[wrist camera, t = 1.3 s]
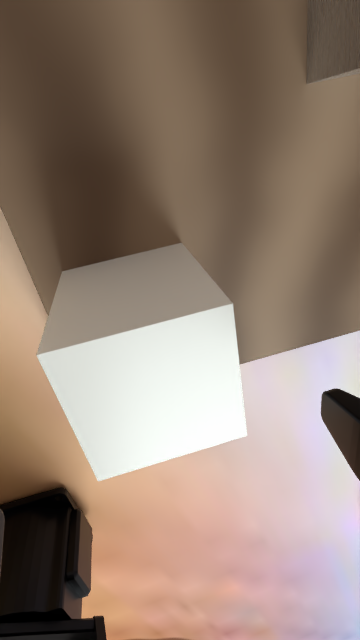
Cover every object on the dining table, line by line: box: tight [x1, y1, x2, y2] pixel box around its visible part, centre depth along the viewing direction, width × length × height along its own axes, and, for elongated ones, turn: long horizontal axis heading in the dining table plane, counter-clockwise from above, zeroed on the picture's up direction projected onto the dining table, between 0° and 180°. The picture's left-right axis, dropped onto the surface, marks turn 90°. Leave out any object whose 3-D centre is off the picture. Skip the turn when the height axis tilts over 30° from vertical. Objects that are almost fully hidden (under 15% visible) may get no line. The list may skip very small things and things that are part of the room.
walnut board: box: [0, 0, 360, 364], centre depth 14 cm, size 18×20×1 cm
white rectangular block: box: [37, 243, 247, 481], centre depth 13 cm, size 5×5×7 cm
